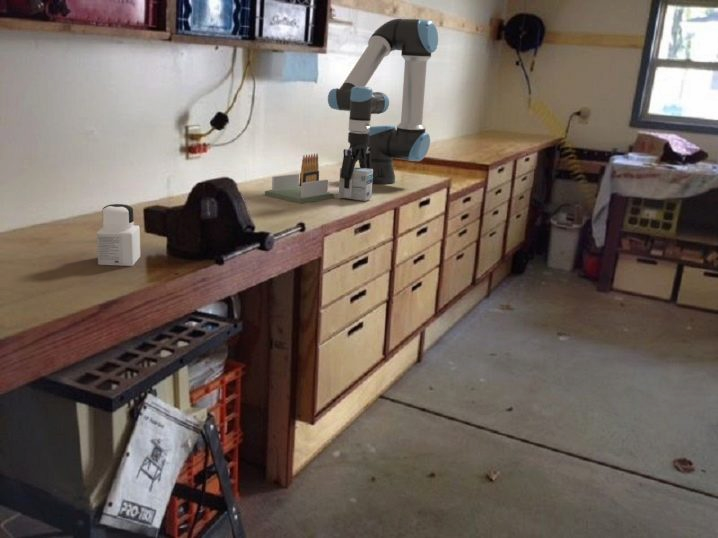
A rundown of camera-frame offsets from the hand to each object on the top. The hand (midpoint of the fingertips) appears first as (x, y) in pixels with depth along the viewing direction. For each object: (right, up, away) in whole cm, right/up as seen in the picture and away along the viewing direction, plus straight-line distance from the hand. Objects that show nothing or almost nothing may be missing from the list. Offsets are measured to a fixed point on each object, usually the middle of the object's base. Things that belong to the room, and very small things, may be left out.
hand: (355, 195), depth 243 cm
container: (-54, -25, -88) cm, 106 cm away
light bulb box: (0, -1, 0) cm, 1 cm away
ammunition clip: (-18, +7, +23) cm, 30 cm away
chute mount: (-20, 0, -1) cm, 20 cm away
